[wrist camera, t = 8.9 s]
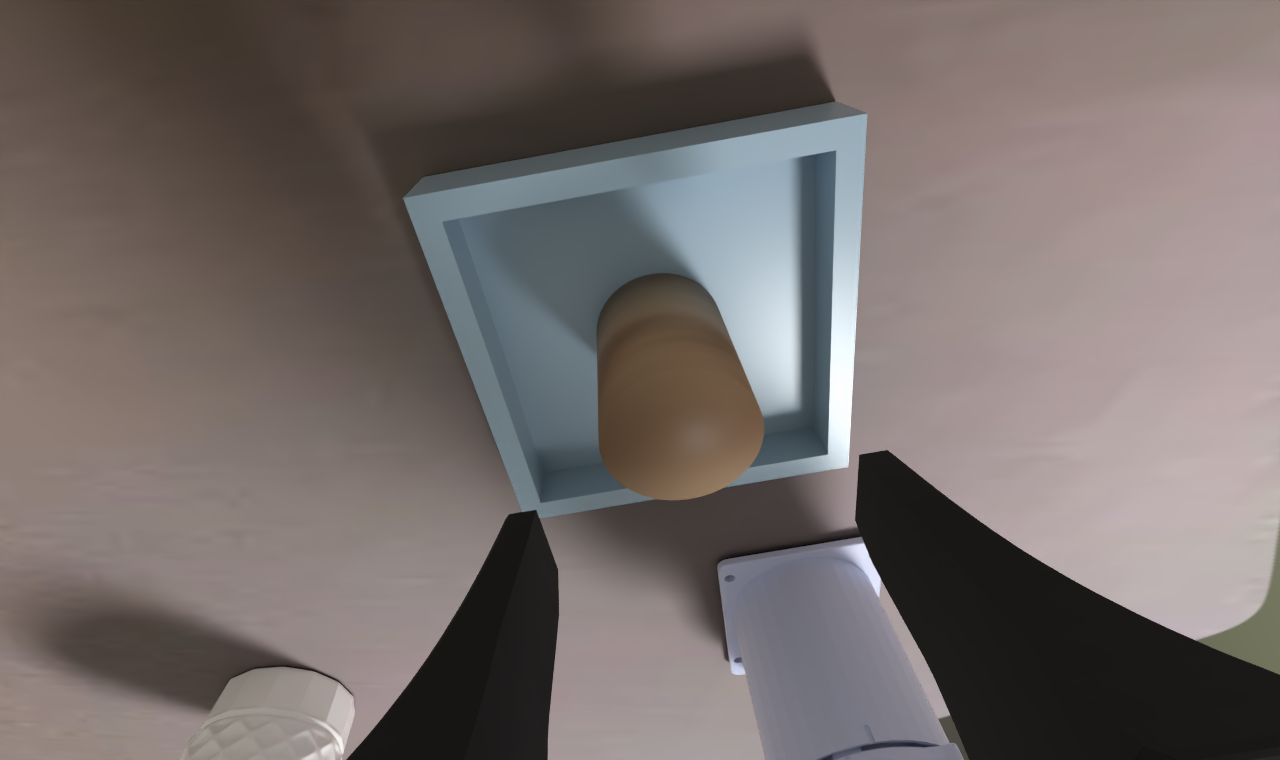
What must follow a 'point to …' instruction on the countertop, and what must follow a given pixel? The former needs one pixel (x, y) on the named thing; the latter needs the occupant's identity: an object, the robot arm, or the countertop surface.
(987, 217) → the countertop surface
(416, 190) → the light blue square tray
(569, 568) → the countertop surface
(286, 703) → the white cup
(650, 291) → the tan rounded cylinder
